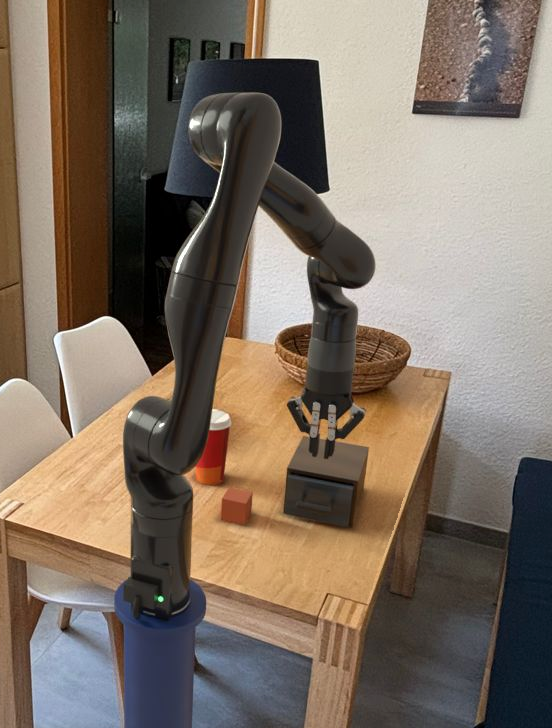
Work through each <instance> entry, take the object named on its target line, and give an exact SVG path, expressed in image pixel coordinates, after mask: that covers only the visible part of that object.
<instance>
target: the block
mask: <svg viewBox="0 0 552 728" xmlns="http://www.w3.org/2000/svg"><path fill="white" fill-rule="evenodd" d="M253 495H254V493H253V491H250V490H244V489H240V488H235V487H230V486H229V487H228V488H227V489H226V491H225V493H224V494H223V496H222V497H221V505H220V506H221V508H220V521H223V522H228V523H233V524H237V525H242V526H246V524H247V522H248V520H249V519H250V517H251V515H252V513H253V512H252V510H253Z"/></svg>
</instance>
